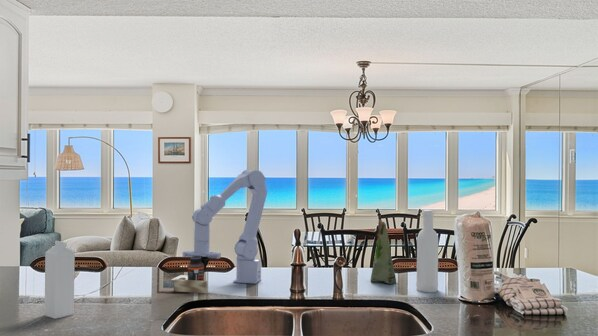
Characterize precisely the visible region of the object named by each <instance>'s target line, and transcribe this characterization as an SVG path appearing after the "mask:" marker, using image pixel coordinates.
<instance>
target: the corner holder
mask: <svg viewBox="0 0 598 336" xmlns="http://www.w3.org/2000/svg"><path fill="white" fill-rule="evenodd" d="M173 292H179V293H180V292H182V293H198V294H206V293H207V292H208V281H207V280H204V281H198V280H185V278H180V279H175V280H174V281H173Z"/></svg>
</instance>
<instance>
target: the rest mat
mask: <svg viewBox="0 0 598 336" xmlns="http://www.w3.org/2000/svg"><path fill="white" fill-rule="evenodd" d="M180 278H185V280H188V274H187V275H186V274H185V275H184V274H180V275H178V276H176V277H173V278H172V279H170V281H173V282H174V280H175V279H180Z"/></svg>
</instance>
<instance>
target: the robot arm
mask: <svg viewBox="0 0 598 336" xmlns="http://www.w3.org/2000/svg"><path fill="white" fill-rule="evenodd" d="M242 188H247V189H248V190H249V191H250V192H251V194H252V198H251V202H250V206H249V208H248V214H247V218H246V221H245V224H244V228H243V231H242V233H241V235H240V236H239V237H238V241H237V242H236V243H235V245H234V252H235V254H236V255H237V256H236V278H235V279H234V280H232V283H238V284H258V283H259V282H260V281H262V261H261V260H260V259H257V258H256V257H257V255H258V251H259V250H258V249H259V248H258V243H259V242H258V241H259V240H258V238H257V235H258V234H257V233H258V230H259V228H260V227H259V226H260V223H261V218H262V214H263V210H264V207H265V203H266V198H267V196H268V190H267V186H266V177H265V175H264V174H263V172H262V171H261V170H259V169H254V170H253V169H251V170H250V169H245V170H243V171H242V172H241V173H240V174H238V175H237V176H236V178H234V179H233V181H232V182H230V183H229V185H227V187H226V188H224V190H222V192H220V194H215V195H211V196H209V200H208V201H206V202H205V204H201V206H200V208H199V209H196V210H194V212H193V214H192V215H191V219H192V221H193V222H194V228H193V250H192V251H191V250H190V251H189V250H187V251H182V258H191V257H201V262H202V263H203V264H204V274H205V272H206V269H207V266H208V264H209V262H210V260H211V259H216V260H219V259H221V253H222V252H216V251H215V252H214V251H210V230H211V229H210V224H211V222H212V221H213V217H215V216H216V215H217V214H218V213H219V212H220V211H221V210H222V209H223V208H224V207H225V206H226V201H227V200H229V198H231V197H232V196H233V195H234V194H235V193H237V192H238V191H239V190H241V189H242Z"/></svg>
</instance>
